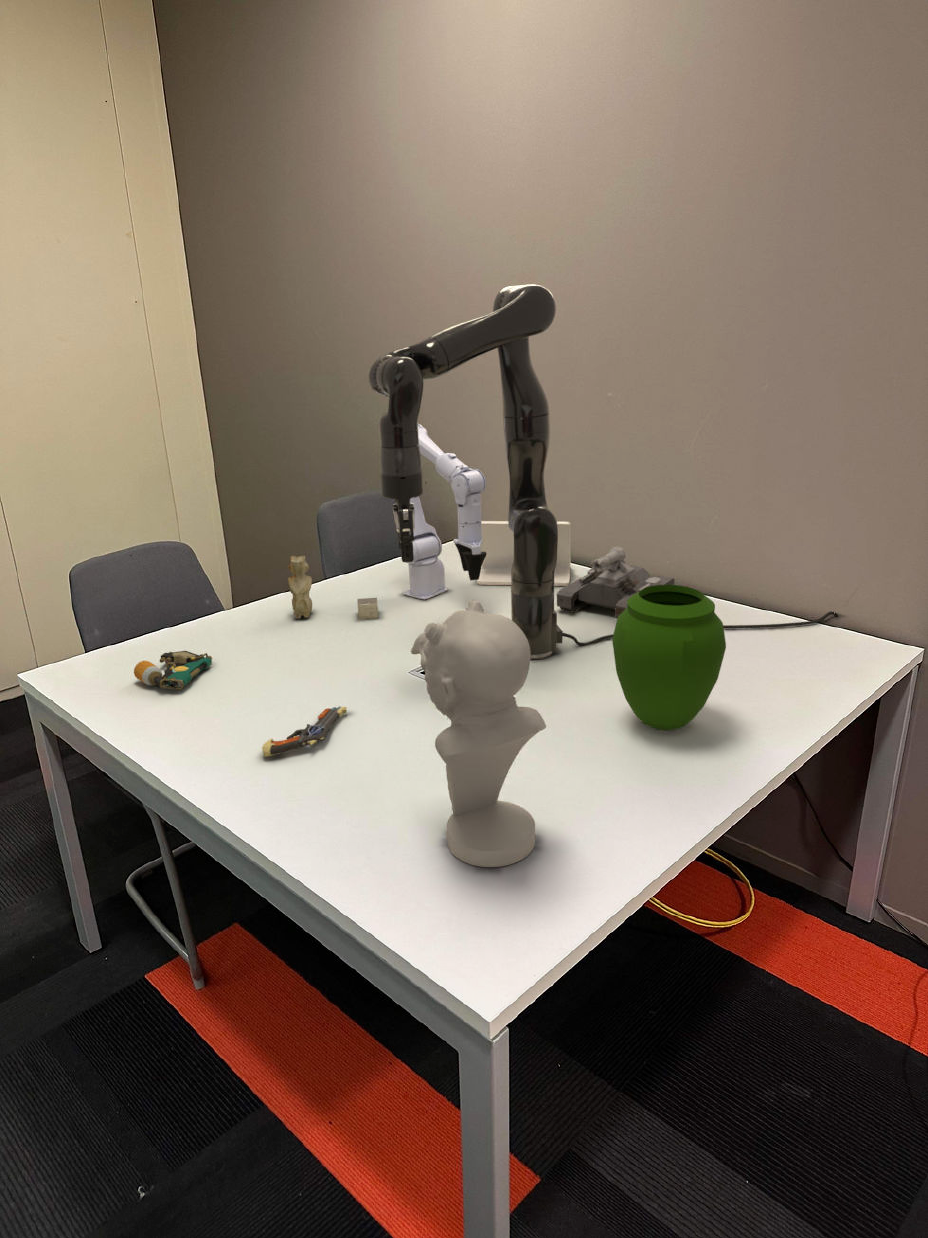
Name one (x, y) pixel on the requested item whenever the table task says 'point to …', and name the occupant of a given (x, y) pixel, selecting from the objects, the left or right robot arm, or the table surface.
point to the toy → (608, 584)
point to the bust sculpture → (481, 729)
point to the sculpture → (300, 587)
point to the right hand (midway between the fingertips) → (406, 555)
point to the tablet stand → (502, 554)
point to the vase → (668, 654)
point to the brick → (367, 608)
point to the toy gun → (305, 733)
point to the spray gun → (172, 669)
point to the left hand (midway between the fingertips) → (471, 574)
